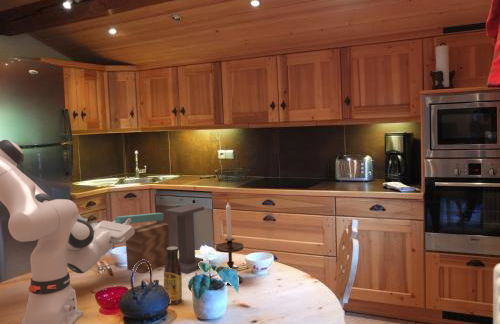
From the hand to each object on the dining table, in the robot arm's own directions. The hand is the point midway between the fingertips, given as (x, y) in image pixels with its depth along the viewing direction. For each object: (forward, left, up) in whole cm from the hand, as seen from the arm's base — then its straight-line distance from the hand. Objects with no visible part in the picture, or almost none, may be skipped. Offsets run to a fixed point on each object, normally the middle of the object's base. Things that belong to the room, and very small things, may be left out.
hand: (126, 218), depth 194 cm
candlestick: (-20, -42, -24) cm, 52 cm away
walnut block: (+7, -8, -24) cm, 26 cm away
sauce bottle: (-36, -20, -24) cm, 47 cm away
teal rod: (+5, -5, -3) cm, 8 cm away
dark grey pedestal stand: (+2, -24, -24) cm, 34 cm away
